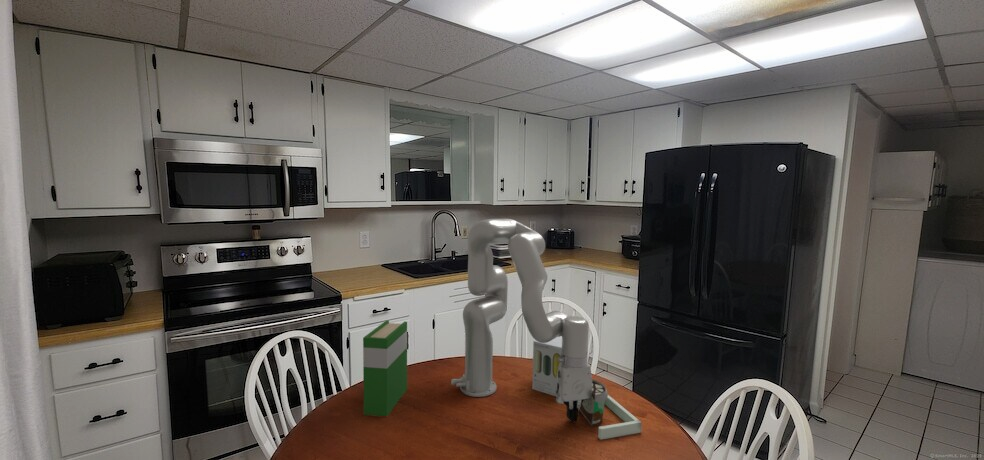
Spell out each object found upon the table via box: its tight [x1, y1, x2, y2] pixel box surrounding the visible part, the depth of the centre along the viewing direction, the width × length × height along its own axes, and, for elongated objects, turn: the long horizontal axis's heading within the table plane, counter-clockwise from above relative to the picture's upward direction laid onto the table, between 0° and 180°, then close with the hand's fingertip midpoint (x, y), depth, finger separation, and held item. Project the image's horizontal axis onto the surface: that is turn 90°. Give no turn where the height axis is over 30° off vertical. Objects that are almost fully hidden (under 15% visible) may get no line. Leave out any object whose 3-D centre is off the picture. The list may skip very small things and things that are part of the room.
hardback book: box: [362, 320, 408, 417], centre depth 128 cm, size 18×7×24 cm, turn 173°
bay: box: [597, 394, 643, 440], centre depth 121 cm, size 13×19×3 cm
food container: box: [578, 378, 609, 427], centre depth 121 cm, size 12×6×10 cm, turn 11°
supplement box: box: [532, 336, 562, 398], centre depth 140 cm, size 13×13×18 cm
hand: (572, 419), depth 118 cm, fingers closed
